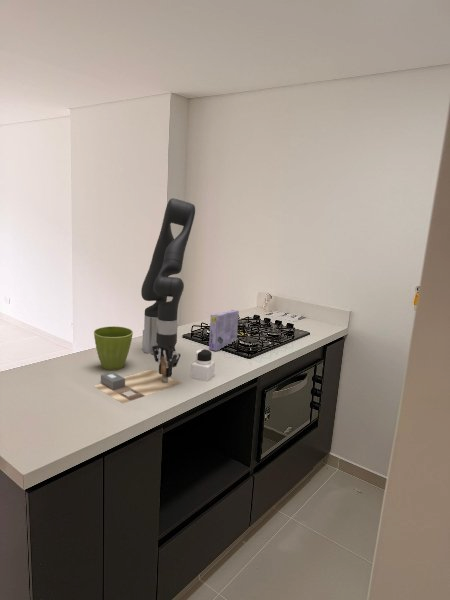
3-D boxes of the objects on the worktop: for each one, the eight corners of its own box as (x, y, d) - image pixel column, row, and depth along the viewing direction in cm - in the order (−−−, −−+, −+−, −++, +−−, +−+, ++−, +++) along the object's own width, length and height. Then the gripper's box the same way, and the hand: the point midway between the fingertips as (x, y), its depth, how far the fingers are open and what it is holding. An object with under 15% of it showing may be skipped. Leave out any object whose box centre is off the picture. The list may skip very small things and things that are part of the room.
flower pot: (139, 371, 168) (140, 333, 165) (106, 379, 157) (107, 339, 154) (118, 360, 178) (119, 324, 175) (86, 368, 167) (86, 330, 164)
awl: (158, 381, 156) (159, 356, 154) (165, 379, 158) (166, 354, 156) (164, 384, 154) (165, 358, 152) (170, 382, 156) (172, 356, 154)
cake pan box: (230, 341, 216) (232, 308, 212) (238, 343, 213) (241, 310, 210) (207, 349, 201) (209, 314, 197) (215, 352, 198) (218, 316, 194)
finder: (100, 382, 151) (100, 373, 150) (113, 379, 155) (113, 370, 154) (112, 390, 146) (112, 380, 145) (124, 386, 149) (125, 377, 149)
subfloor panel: (93, 389, 148) (93, 385, 148) (151, 372, 167) (151, 369, 167) (122, 407, 137) (122, 403, 136) (181, 386, 156) (181, 383, 156)
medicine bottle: (213, 378, 166) (215, 349, 164) (207, 384, 160) (209, 355, 157) (197, 375, 168) (199, 346, 166) (190, 381, 162) (191, 351, 159)
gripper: (187, 333, 150) (185, 378, 154) (162, 325, 159) (160, 367, 163) (171, 337, 145) (169, 383, 148) (146, 328, 154) (145, 372, 157)
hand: (165, 375), depth 155 cm, fingers closed on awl, 3 cm apart
